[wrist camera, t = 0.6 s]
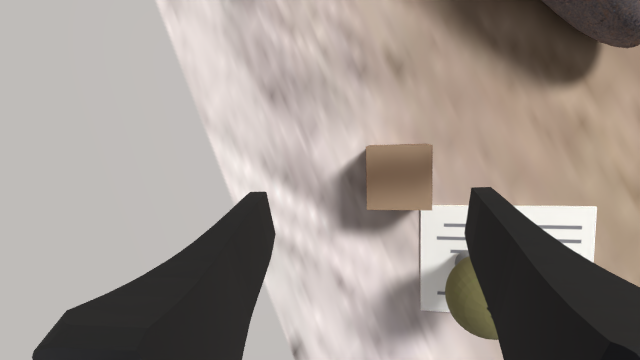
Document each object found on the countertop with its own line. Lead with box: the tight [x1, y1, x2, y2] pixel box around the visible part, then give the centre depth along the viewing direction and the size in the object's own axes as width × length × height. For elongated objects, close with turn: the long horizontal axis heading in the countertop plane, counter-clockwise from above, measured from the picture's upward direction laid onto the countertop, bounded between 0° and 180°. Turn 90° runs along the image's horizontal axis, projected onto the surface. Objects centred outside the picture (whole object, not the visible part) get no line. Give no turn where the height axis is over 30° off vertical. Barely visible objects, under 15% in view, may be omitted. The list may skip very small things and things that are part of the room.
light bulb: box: [445, 250, 498, 340], centre depth 27 cm, size 6×6×10 cm
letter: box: [420, 205, 597, 312], centre depth 31 cm, size 10×14×1 cm
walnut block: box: [366, 144, 433, 210], centre depth 30 cm, size 5×5×5 cm
